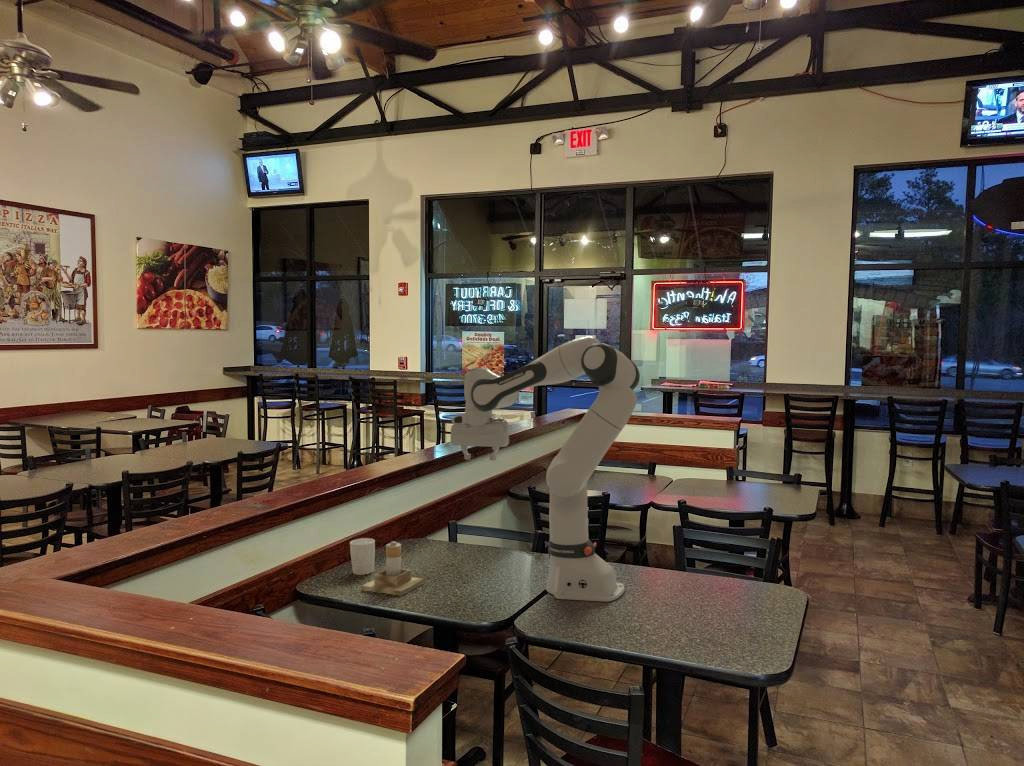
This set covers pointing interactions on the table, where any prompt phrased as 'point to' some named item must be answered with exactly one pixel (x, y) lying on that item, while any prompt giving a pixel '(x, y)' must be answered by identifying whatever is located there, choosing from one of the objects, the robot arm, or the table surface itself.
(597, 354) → the robot arm
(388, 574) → the battery cell
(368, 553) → the white cup
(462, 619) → the table surface
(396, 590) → the charging dock
